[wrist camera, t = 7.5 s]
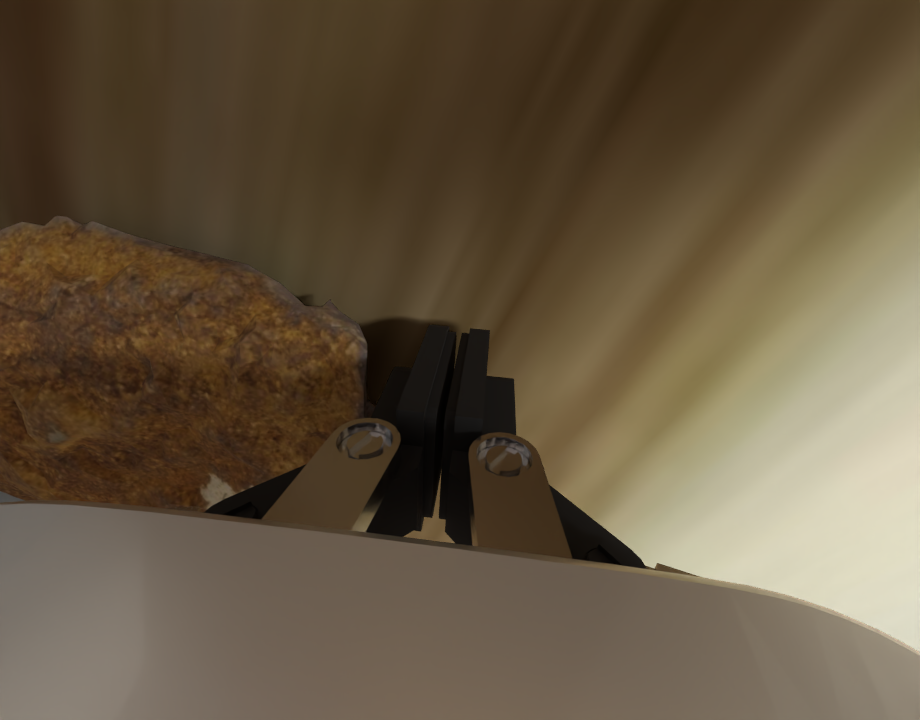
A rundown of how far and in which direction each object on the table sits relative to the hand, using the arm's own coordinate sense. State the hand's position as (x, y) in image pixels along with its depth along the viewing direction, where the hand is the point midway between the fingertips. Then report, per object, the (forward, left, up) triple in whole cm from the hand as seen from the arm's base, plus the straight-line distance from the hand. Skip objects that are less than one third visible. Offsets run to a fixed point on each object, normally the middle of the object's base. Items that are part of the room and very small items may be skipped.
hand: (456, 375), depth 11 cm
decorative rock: (+8, +5, -1) cm, 10 cm away
